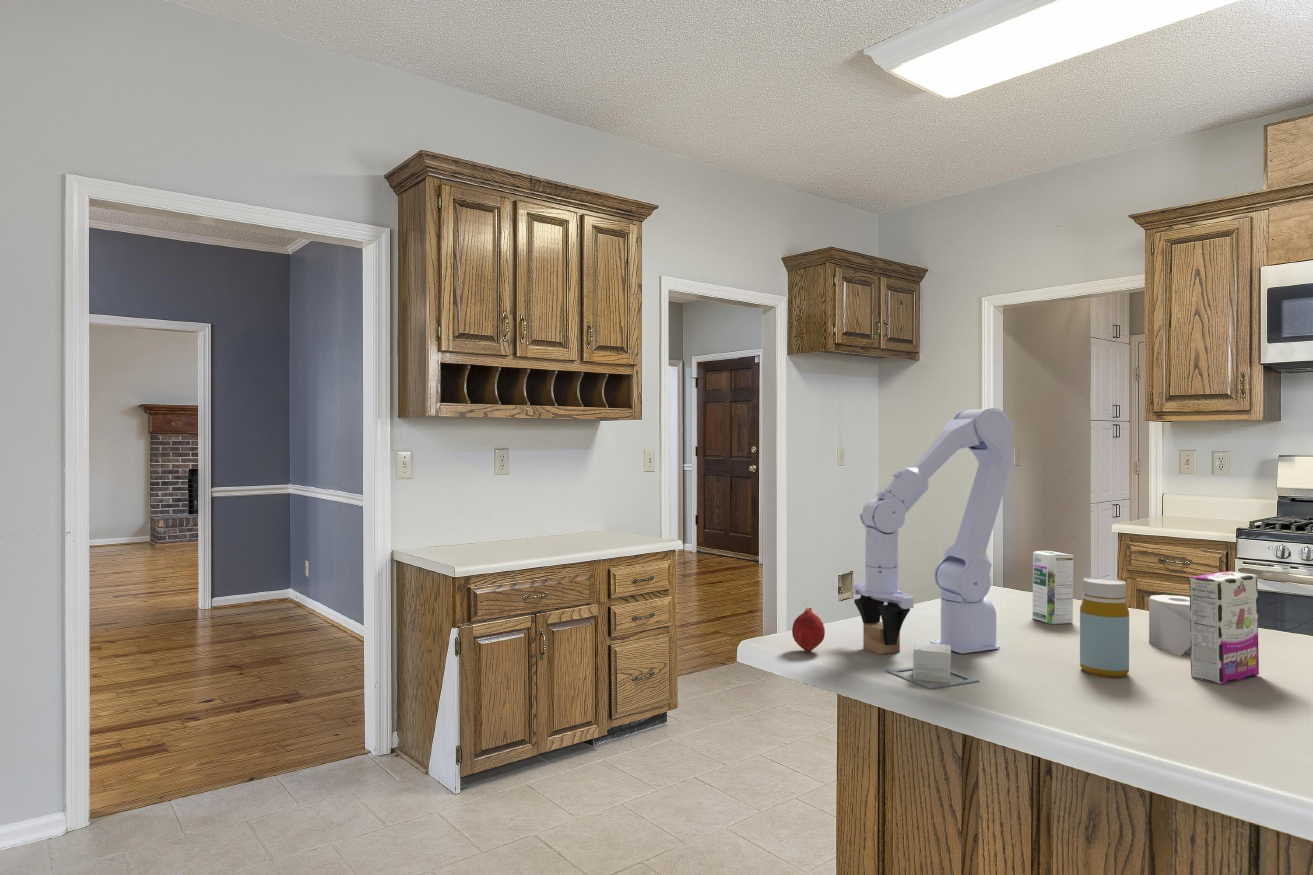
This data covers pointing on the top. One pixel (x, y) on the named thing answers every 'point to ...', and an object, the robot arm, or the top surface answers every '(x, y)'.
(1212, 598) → the candy bar box
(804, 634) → the onion
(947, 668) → the small box
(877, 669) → the top surface
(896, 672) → the gray square frame
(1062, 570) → the syrup box
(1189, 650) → the toilet tissue
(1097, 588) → the bottle
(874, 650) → the walnut cube
